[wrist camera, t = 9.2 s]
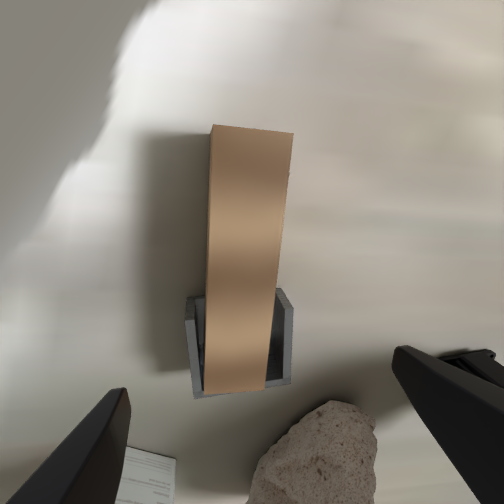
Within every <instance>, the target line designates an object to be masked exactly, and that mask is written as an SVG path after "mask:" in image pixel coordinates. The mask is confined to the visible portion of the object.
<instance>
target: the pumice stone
mask: <svg viewBox="0 0 504 504" xmlns="http://www.w3.org/2000/svg"><path fill="white" fill-rule="evenodd" d="M374 429H375V419H373V418H372V417H369V416H368V415H367V414H364V413H363V412H362V411H361V409H360V408H358V407H357V406H355V405H352V404H349V403H345V402H340V401H333V400H331V401H328V402H327V403H325V404H324V405H322V406H320V407H318V408H317V409H315V410H314V411H312V412H310V413H308V414H306V415H305V416H304V417H303V418H302V419H300V422H299V423H298V424H295V425H293V426H292V427H291V428H290V430H289V431H288V433H287V434H286V435H283V436H282V438H281V439H280V440H279V441H278V442H277V444H274V445H272V446H271V447H270V449H269V450H268V452H267V453H266V454H264V455H263V456H262V457H261V458H260V459H259V461H258V465H257V468H256V470H255V472H254V475H253V481H252V487H251V490H250V494H249V499H248V501H247V502H246V504H374V498H373V495H374V492H375V489H376V477H375V473H374V469H373V466H374V461H375V457H376V453H377V439H376V437H375V436H374V434H373V430H374Z"/></svg>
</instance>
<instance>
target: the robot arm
mask: <svg viewBox="0 0 504 504" xmlns="http://www.w3.org/2000/svg"><path fill="white" fill-rule="evenodd" d="M495 356H496V353H494V352H493V351H491V350H485V351H479V352H472V353H466V354H460V355H454V356H447V357H442V358H439V359H437V358H435V357H433V356H430V355H428V354H426V353H424V352H422V351H419V350H417V349H415V348H413V347H411V346H408V345H404V346H398V347H396V348H395V350H394V355H393V360H392V370H393V373H394V374H395V376H396V378H397V379H398V381H399V383H400V385H401V386H402V388H403V390H404V391H405V393H406V395H407V397H408V398H409V400H410V402H411V403H412V405H413V407H414V409H415V410H416V412H417V413H418V415H419V416H420V418H421V419H422V421H423V422H424V424H425V425H426V427H427V428H428V429H429V431H430V432H431V434H432V435H433V437H434V438H435V439H436V441H437V442H438V444H439V445H440V447H441V448H442V449H443V451H444V452H445V454H446V455H447V457H448V458H449V459H450V461H451V462H452V464H453V465H454V466H455V468H456V469H457V471H458V472H459V474H460V475H461V476H462V478H463V479H464V481H465V482H466V484H467V485H468V486H469V488H470V489H471V491H472V492H473V493H474V495H475V496H476V498H477V499H478V501H479V502H480V503H481V504H504V366H502V365H501V364H499V363H498V362H496V361H495V360H494V359H495ZM130 418H131V405H130V401H129V397H128V392H127V389H126V388H124V387H122V388H116V389H111V390H110V391H109V392H108V393H107V394H106V395H105V396H104V397H103V398H102V399H101V400H100V401H99V403H98V404H97V405H96V406H95V407H94V408H93V409H92V410H91V411H90V412H89V413H88V414H87V416H86V417H85V418H84V419H83V420H82V421H81V422H80V423H79V424H78V425H77V426H76V428H75V429H74V430H73V431H72V432H71V433H70V434H69V435H68V436H67V437H66V438H65V439H64V441H63V442H62V443H61V444H60V445H59V446H58V447H57V448H56V449H55V450H54V451H53V452H52V454H51V455H50V456H49V457H48V458H47V459H46V460H45V461H44V462H43V463H42V464H41V466H40V467H39V468H38V469H37V470H36V471H35V472H34V473H33V474H32V475H31V476H30V477H29V479H28V480H27V481H26V482H25V483H24V484H23V485H22V486H21V487H20V488H19V489H18V490H17V492H16V493H15V494H14V495H13V496H12V497H11V498H10V499H9V500H8V501H7V502H6V504H115V501H116V497H117V493H118V489H119V485H120V480H121V476H122V471H123V465H124V458H125V452H126V445H127V438H128V432H129V425H130Z"/></svg>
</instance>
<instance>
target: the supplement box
mask: <svg viewBox="0 0 504 504" xmlns="http://www.w3.org/2000/svg"><path fill="white" fill-rule="evenodd" d="M175 471H176V459H173V458H169V457H165V456H161V455H157V454H153V453H149V452H145V451H142V450H138V449H134V448H130V447H127V446H126V452H125V458H124V465H123V471H122V476H121V480H120V485H119V489H118V493H117V497H116V501H115V504H174V488H175Z"/></svg>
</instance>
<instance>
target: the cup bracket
mask: <svg viewBox="0 0 504 504" xmlns="http://www.w3.org/2000/svg"><path fill="white" fill-rule="evenodd" d="M293 309H294V308H293V307H292V305H291V303H290V302H289V300H288V299H287V297H286V295H285V294H284V292H283V290H282V289H281V288H278V289H276V291H275V300H274V309H273V318H272V327H271V335H270V344H269V353H268V362H267V371H266V379H265V388H267V387H273V386H279V385H286V384H290V379H291V355H292V332H293ZM204 321H205V296H198V297H188V298H187V302H186V313H185V327H186V336H187V344H188V353H189V361H190V370H191V378H192V387H193V395H194V399H198V398H204V397H210V396H217V395H223V394H229V393H220V394H207V395H204V359H203V352H204ZM233 393H235V392H233Z"/></svg>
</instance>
